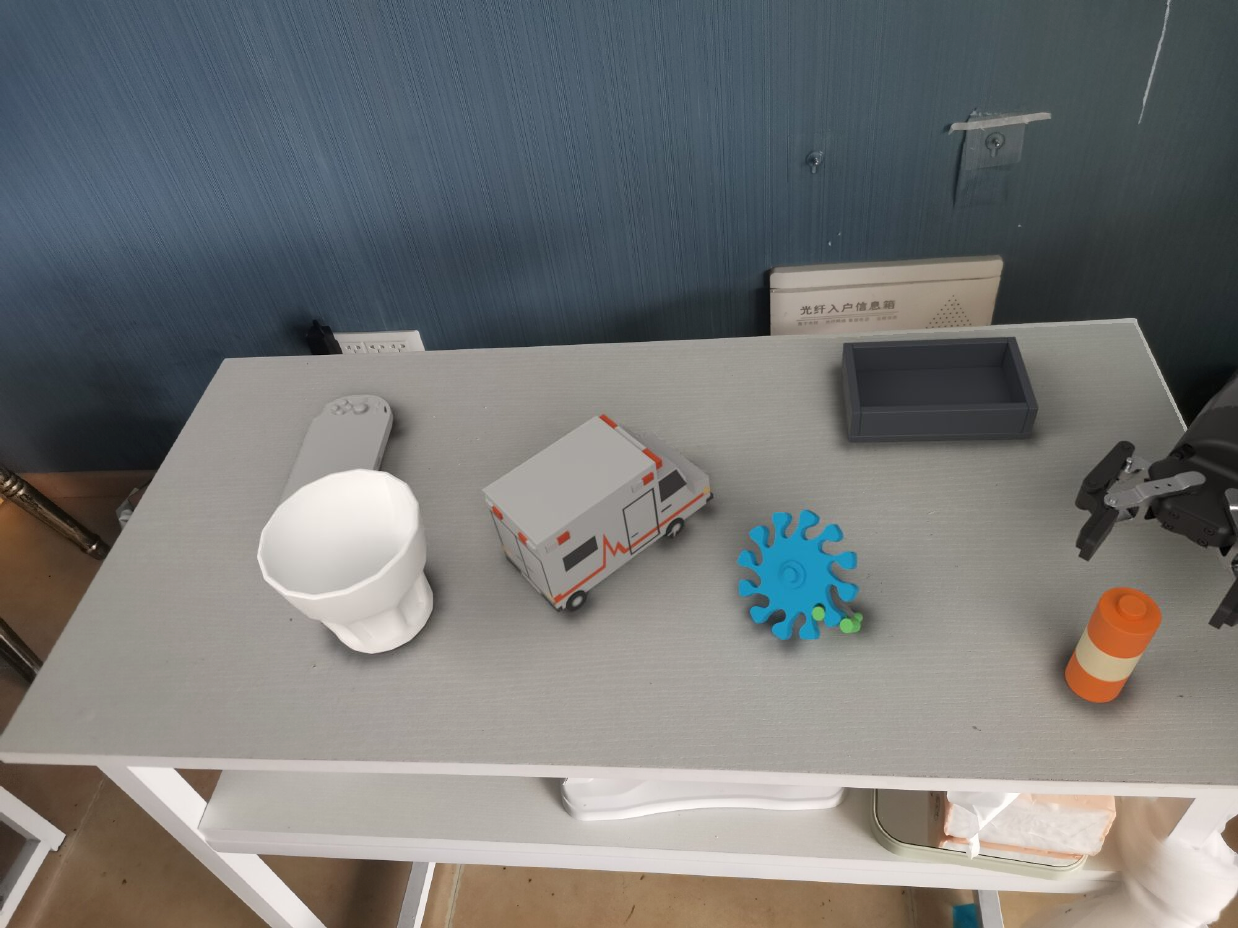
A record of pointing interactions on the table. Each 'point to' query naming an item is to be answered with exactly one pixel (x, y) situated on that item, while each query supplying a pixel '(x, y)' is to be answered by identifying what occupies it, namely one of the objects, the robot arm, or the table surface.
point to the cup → (352, 558)
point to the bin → (937, 390)
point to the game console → (342, 440)
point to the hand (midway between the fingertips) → (1149, 585)
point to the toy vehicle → (591, 506)
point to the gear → (800, 578)
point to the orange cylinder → (1112, 644)
